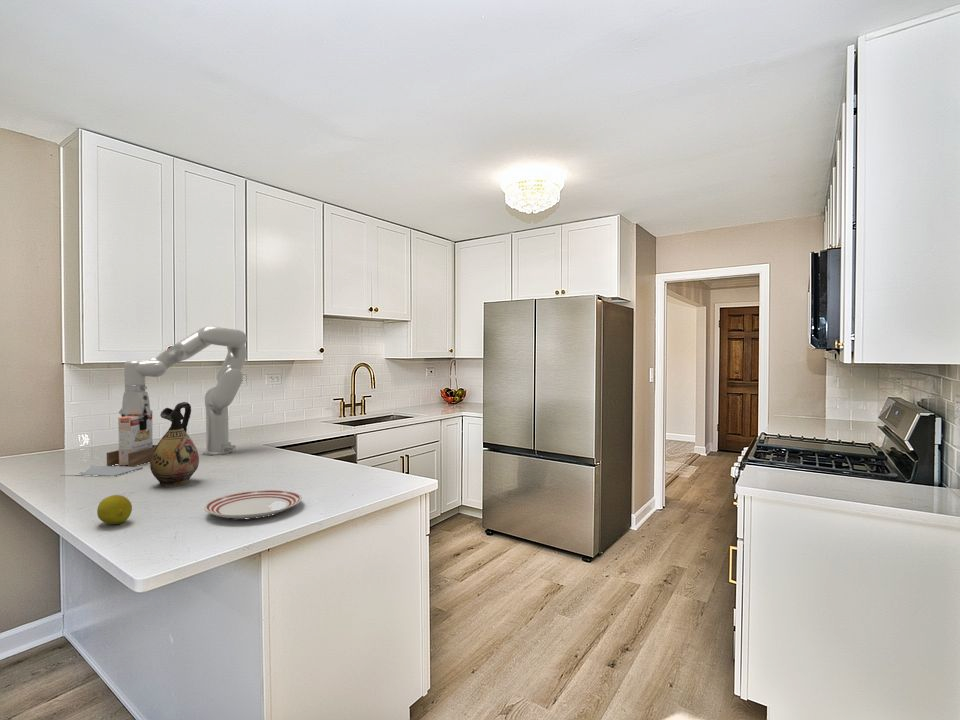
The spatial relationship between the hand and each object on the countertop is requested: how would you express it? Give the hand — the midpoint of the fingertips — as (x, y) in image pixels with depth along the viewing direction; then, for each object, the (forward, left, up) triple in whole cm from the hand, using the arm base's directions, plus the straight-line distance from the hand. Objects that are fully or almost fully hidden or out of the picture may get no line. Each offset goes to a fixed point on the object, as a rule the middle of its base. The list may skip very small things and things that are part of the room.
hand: (136, 429), depth 221 cm
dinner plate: (-90, +55, -15) cm, 107 cm away
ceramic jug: (-43, +29, -15) cm, 54 cm away
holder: (0, 0, -15) cm, 15 cm away
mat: (0, +17, -15) cm, 22 cm away
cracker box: (0, 0, -15) cm, 15 cm away
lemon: (-57, +71, -15) cm, 92 cm away
